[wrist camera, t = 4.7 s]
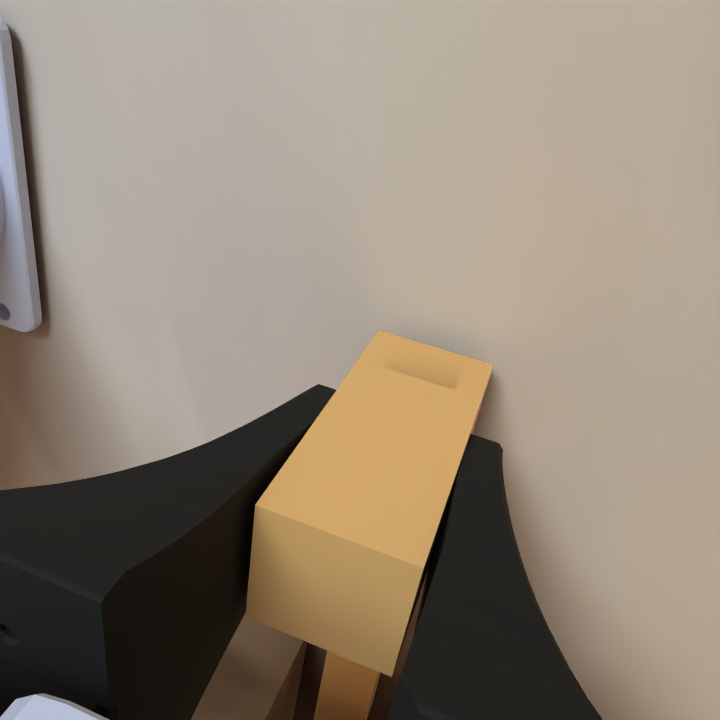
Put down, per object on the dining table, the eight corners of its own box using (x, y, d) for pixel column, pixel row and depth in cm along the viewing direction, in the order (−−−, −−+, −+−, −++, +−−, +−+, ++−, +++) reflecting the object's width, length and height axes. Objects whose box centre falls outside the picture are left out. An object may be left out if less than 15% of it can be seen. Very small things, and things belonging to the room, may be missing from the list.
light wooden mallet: (313, 678, 22) (222, 882, 17) (378, 330, 15) (255, 505, 10) (388, 710, 21) (316, 931, 16) (493, 364, 14) (424, 568, 9)
